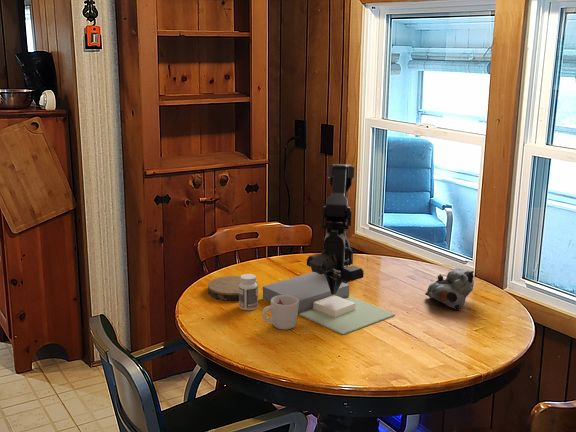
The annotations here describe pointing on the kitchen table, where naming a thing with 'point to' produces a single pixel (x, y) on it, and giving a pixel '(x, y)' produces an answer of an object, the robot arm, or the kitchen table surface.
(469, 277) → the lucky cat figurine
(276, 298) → the cup
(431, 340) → the kitchen table surface
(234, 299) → the grey brown round disc
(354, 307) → the ceramic tile
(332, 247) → the robot arm
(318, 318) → the rubber mat
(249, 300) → the pill bottle
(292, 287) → the gray rectangular block
